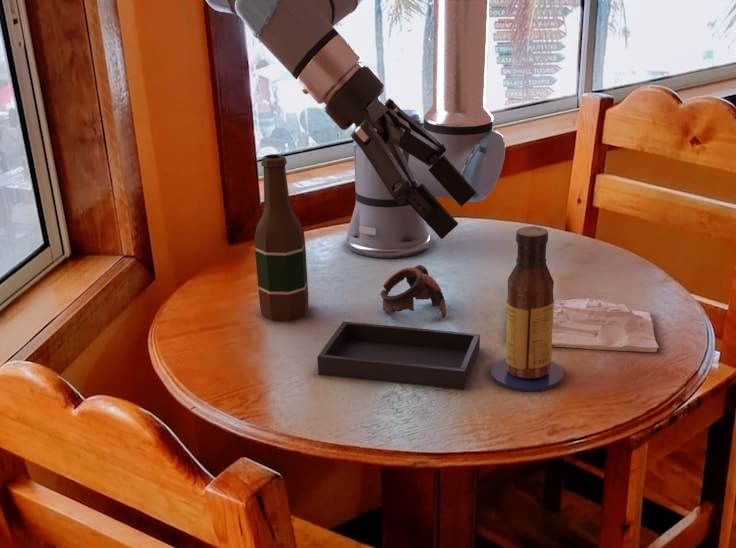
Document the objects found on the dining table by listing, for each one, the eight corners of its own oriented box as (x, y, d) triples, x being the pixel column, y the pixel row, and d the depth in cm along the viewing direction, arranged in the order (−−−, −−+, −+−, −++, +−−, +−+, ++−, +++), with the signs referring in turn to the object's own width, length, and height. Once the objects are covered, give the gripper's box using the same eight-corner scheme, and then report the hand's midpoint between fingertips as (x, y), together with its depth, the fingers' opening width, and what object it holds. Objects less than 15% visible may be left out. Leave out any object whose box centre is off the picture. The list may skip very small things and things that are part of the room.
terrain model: (501, 314, 157) (501, 284, 154) (645, 309, 156) (648, 278, 154) (509, 358, 143) (509, 325, 140) (667, 352, 142) (671, 319, 140)
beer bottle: (250, 317, 153) (235, 159, 140) (277, 300, 159) (265, 147, 145) (293, 326, 150) (282, 166, 137) (319, 308, 156) (310, 153, 143)
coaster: (496, 356, 141) (496, 353, 141) (566, 363, 139) (566, 359, 139) (485, 387, 133) (485, 383, 133) (558, 395, 131) (559, 391, 131)
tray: (343, 338, 146) (342, 321, 145) (479, 351, 143) (480, 333, 141) (318, 374, 136) (317, 356, 135) (463, 389, 132) (464, 371, 131)
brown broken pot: (450, 329, 150) (425, 289, 145) (396, 349, 154) (370, 310, 149) (454, 282, 158) (430, 242, 153) (402, 302, 162) (378, 264, 157)
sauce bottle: (551, 363, 138) (563, 224, 127) (548, 383, 133) (560, 239, 122) (505, 360, 139) (513, 221, 128) (500, 379, 134) (508, 236, 123)
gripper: (350, 87, 133) (456, 205, 138) (291, 130, 112) (419, 266, 118) (387, 46, 129) (495, 169, 134) (334, 82, 108) (463, 226, 114)
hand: (460, 215), depth 126 cm, fingers open, 13 cm apart
